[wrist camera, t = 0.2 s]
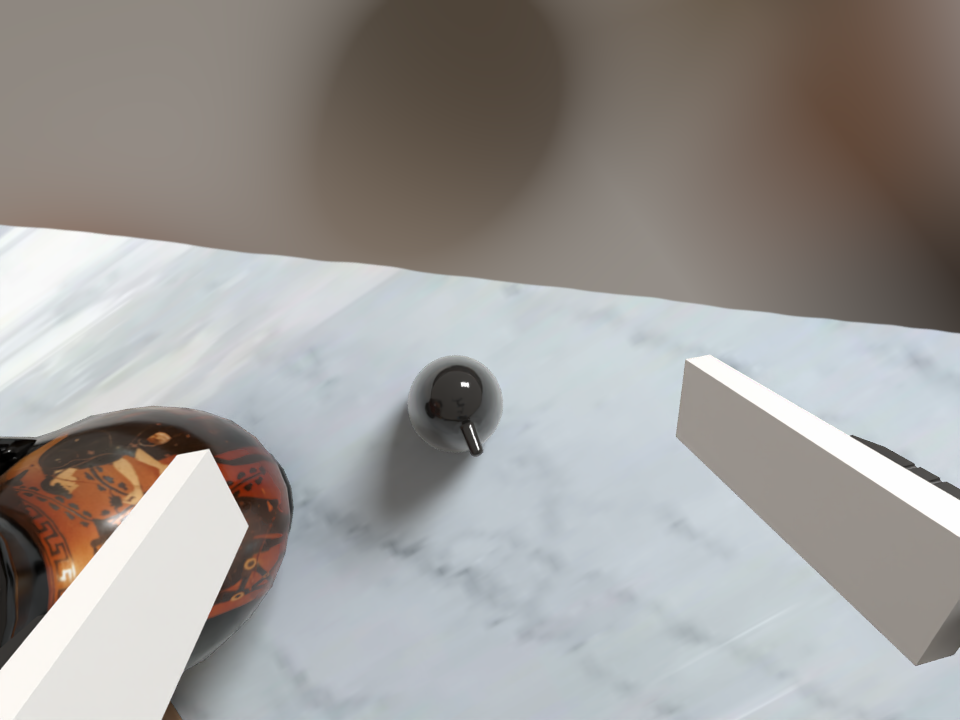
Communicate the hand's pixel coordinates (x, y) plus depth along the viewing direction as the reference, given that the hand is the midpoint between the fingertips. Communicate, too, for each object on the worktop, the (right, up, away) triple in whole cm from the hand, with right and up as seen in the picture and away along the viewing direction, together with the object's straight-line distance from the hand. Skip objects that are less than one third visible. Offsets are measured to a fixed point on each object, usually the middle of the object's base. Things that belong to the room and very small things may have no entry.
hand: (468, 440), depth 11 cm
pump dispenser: (-3, -3, +36) cm, 36 cm away
